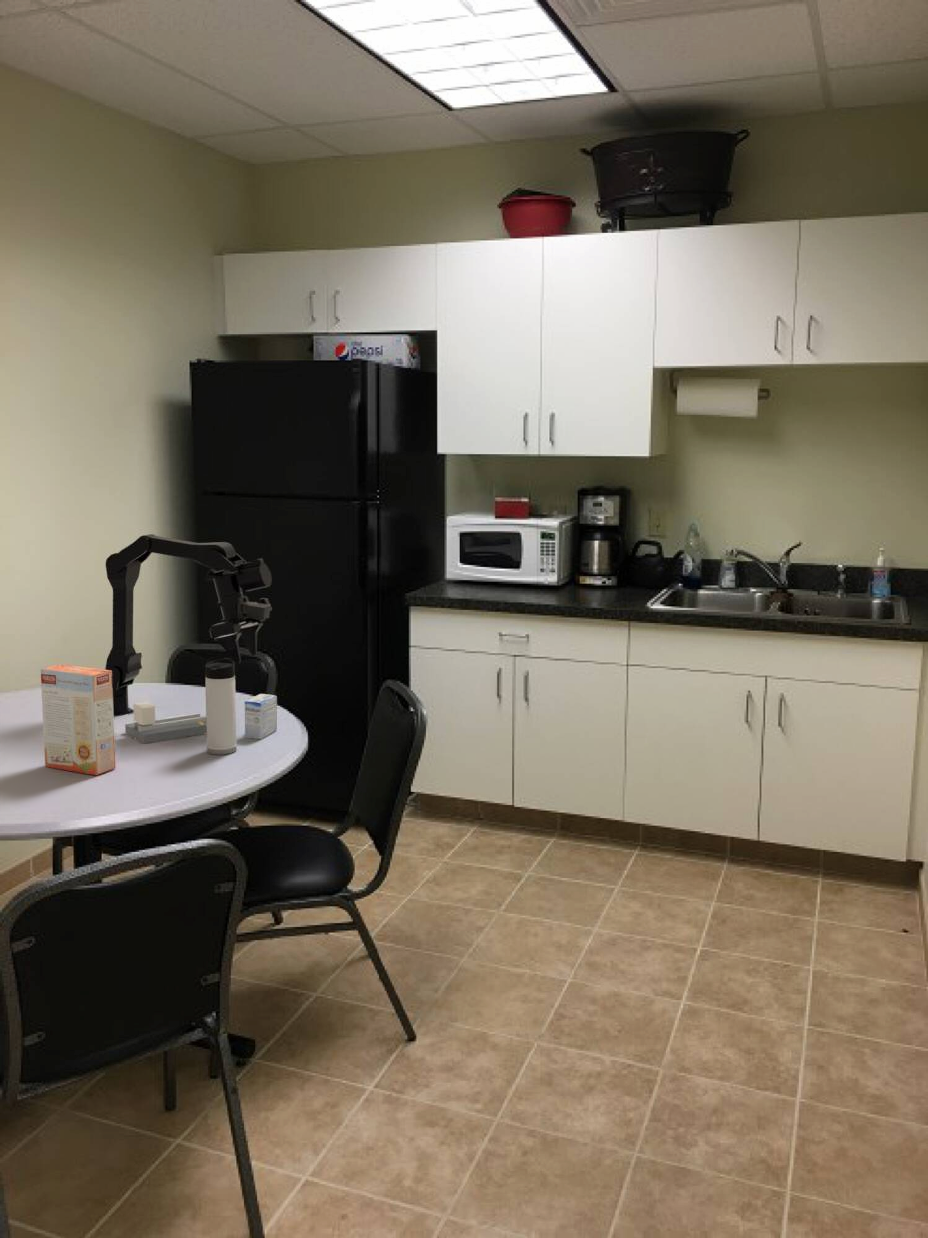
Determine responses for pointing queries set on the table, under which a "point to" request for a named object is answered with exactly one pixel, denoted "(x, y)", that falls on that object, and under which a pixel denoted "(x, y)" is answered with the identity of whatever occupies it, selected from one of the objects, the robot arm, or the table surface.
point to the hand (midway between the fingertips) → (246, 658)
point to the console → (168, 728)
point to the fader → (144, 713)
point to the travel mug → (220, 706)
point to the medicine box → (260, 716)
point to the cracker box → (78, 719)
